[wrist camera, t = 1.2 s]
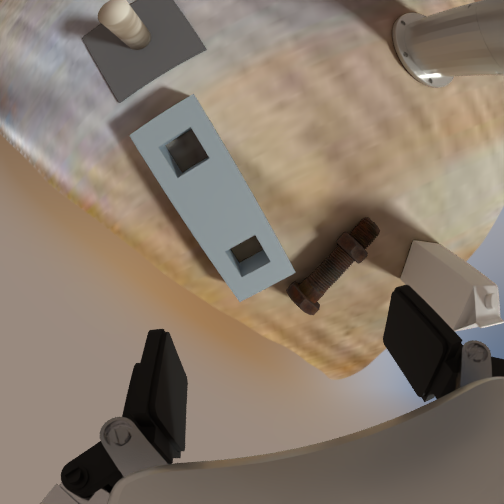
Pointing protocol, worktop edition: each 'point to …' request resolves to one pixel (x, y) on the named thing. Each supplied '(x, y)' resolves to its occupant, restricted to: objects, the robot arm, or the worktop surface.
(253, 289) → the hole block
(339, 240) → the bolt
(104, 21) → the peg
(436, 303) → the milk carton
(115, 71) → the mat
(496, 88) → the worktop surface
